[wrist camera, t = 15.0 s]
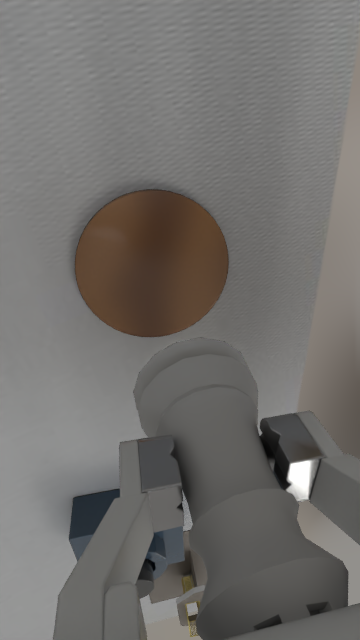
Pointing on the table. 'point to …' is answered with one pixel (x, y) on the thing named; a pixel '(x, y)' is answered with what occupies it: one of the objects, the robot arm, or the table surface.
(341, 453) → the robot arm
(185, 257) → the coaster
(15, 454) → the table surface
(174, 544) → the blue push button box
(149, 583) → the dark grey push button
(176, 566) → the platform
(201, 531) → the rook chess piece
